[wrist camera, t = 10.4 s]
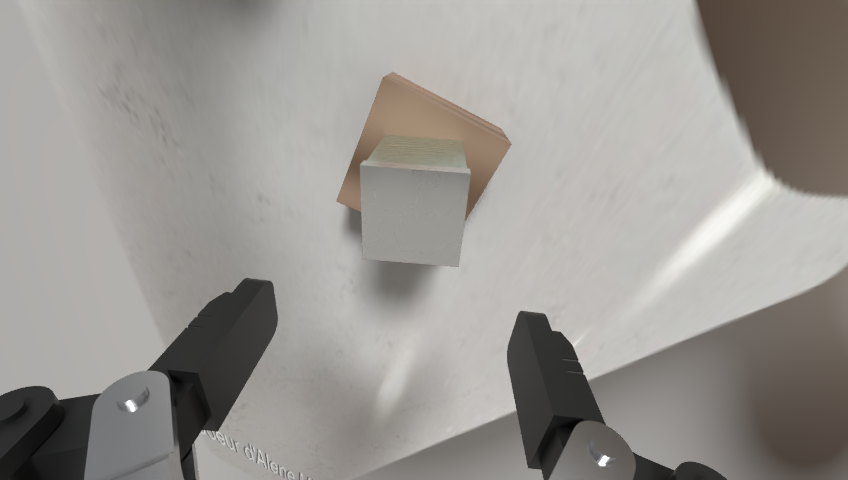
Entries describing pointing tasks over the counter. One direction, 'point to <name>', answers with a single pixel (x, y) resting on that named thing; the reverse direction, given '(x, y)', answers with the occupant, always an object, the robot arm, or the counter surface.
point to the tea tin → (414, 200)
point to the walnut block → (425, 134)
